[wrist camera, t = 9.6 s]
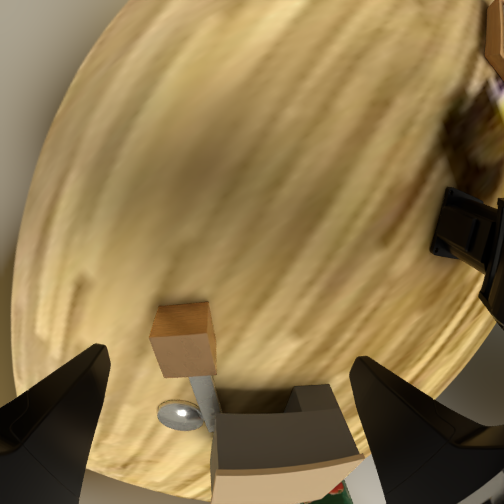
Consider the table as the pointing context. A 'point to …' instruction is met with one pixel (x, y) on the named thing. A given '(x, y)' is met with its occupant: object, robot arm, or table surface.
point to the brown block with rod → (188, 351)
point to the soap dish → (495, 36)
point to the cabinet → (282, 451)
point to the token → (180, 415)
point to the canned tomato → (335, 496)
